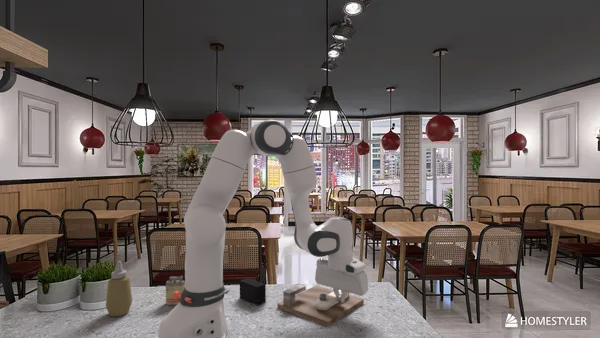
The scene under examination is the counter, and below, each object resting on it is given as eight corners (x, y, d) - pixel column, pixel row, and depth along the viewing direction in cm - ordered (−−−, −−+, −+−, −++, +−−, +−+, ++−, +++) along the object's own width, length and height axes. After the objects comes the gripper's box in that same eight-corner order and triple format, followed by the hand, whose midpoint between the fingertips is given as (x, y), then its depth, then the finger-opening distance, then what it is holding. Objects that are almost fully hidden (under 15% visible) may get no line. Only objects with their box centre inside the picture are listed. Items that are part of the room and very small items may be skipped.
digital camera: (268, 301, 124) (268, 283, 124) (257, 306, 120) (257, 287, 120) (250, 294, 131) (250, 276, 131) (239, 298, 127) (239, 280, 127)
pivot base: (328, 326, 105) (328, 307, 105) (277, 307, 119) (277, 290, 119) (363, 303, 123) (363, 286, 122) (316, 289, 137) (315, 274, 137)
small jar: (164, 305, 121) (163, 277, 121) (168, 300, 125) (168, 274, 125) (183, 305, 121) (183, 278, 121) (187, 301, 125) (186, 274, 125)
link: (324, 311, 111) (324, 304, 111) (313, 308, 114) (313, 300, 114) (352, 295, 125) (352, 288, 125) (341, 292, 128) (341, 286, 128)
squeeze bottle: (123, 306, 120) (123, 256, 120) (137, 311, 116) (137, 260, 116) (100, 315, 113) (100, 262, 113) (114, 320, 109) (113, 266, 109)
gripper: (311, 258, 122) (311, 296, 122) (361, 270, 109) (361, 312, 109) (321, 255, 127) (321, 291, 127) (370, 265, 113) (370, 305, 114)
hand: (340, 301), depth 118 cm, fingers closed
